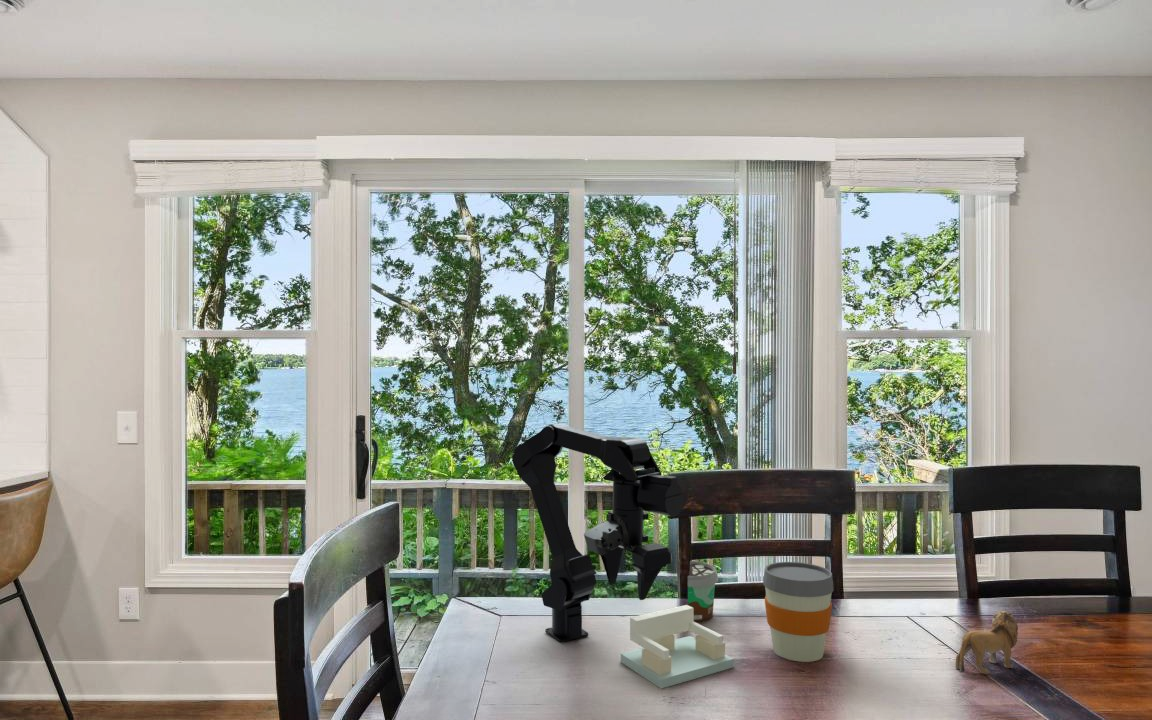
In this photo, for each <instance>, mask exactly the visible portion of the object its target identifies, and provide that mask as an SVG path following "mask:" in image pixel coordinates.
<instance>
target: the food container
mask: <svg viewBox="0 0 1152 720" xmlns="http://www.w3.org/2000/svg"><path fill="white" fill-rule="evenodd" d="M717 572H718V571H717V570H716V567H715V566H714V565H711V564H709V563H707V562H702V561H696V560H690V561H689V573H688V576H687V605H688V606H690V607H692V608H694V622H696V623H698V624H701V623H706V622H709V621H711V620H712V619H713V615H714V602H715V590H716V589H715V588H716V587H715V586H716V583H717V582H718V581H719V577H718V573H717ZM710 619H711V620H710Z"/></svg>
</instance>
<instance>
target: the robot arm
mask: <svg viewBox="0 0 1152 720" xmlns="http://www.w3.org/2000/svg"><path fill="white" fill-rule="evenodd" d="M647 443H648V442H647V441H646V440H645V439H644V438H641V437H628V436H623V437H622V436H619V437H617V436H615V437H613V436H606V435H602V434H599V433H595V432H591V431H588V430H584V429H580V428H577V427H573V426H569V425H568V424H565V423H562V422H561V423H560V422H559V423H554V424H553V423H552V424H548V425H546V426H544V427H543V428H542V429H541V430H540V431H539V432H537V433H536V434H534V435H532V436H531V437H529V438H528V439H526V440H525V441H524V442H522V443H520V444H518V445H516V446H515V448H514V450H513V453H512V455H511V460H512V464H513V466H514V469H515V471H516V473H517V475H518V477H519V478H520V480H522V481H523V483H525V484H526V486H528V487H529V489H530V490H531V494H532V498H533V500H534V503H535V507H536V509H537V513H538V516H539V519H540V522H541V526H542V528H543V532H544V534H545V538H546V541H547V544H548V547H549V551H550V555H551V563H550V570H549V575H550V582H551V584H550V585H549V586H548V587H547V588H546V589H545V590H544V591H543V592H542V593H541V600H542V603H543V606H544V607H547V608H551V627H547V628H545V632H546V633H547V635H549V636H551V637H552V638H553V639H555V640H557V641H558V642H560V643H563V642H567V641H572V640H575V639H580V638H585V637H588V636H589V632H588V631H586V630H585V629H583V615H582V613H583V612H582V608H583V607H582V603H584V602H586V601H590V598H591V596H592V592H594V590H595V586H596V584H597V581H596V580H597V579H596V575H597V571H596V569H595V568H594V565H593V561H592V557H591V556H590V554H588V553H587V554H584V555H583V554H582V553H581V552H580V551H579V550H578V548H577V547H576V543H575V541H574V539H573V538H574V537H573V534H572V532H571V529H570V526H569V524H568V519H567V517H566V515H565V512H564V511H565V510H564V508H563V505H562V501H561V500H560V499H561V498H560V496H559V493H558V490H557V487H556V484H555V480H554V479H555V474H556V469H557V464H556V458H557V456H559V454H560V453H561V452H563V451H562V450H563V448H565V449H567V450H568V449H569V450H571V451H575V452H578V453H581V454H585V455H587V456H592V457H595V458H597V459H598V460H600V461H601V462H602V464H603V465H604V466H606V467H607V468H610V470H609V471H608V472H607V473H606V474H605V475H604V476H603V480H604V481H608V482H612V510H611V511H607V514H606V520H605V521H604V522H601V523H598V524H597V525H595V526H593V527H591V528H590V529H588V530H586V531H585V532H584V533H583V537H584V540H585V543H586V547H587V550H588V551H590V552H594V553H595V554H596V555H598V556H600V558H601V562H602V563H603V568H604V571H605V574H606V577H607V582H608V584H609V585H610V586H612V585H613V586H614V585H616V581H617V579H618V575H619V570H620V566H621V560H622V556H623V553H624V551H627V552H630V553H631V559H632V561H633V563H631V564H630V565H631V567H632V568H633V570H635V571H636V574H637V575H636V576H637V577H636V578H637V594H638V600H640V601H643V600H646V597H647V596H648V594H649V592H650V590H651V588H652V586H653V584H654V582H655V581H656V578H657V577H658V575H659V573H660V572H661V571H662V569H663V568H665V567H667V565H670V564H672V555H673V554H672V553H673V551H671V550H670V548H669V547H667V546H665V545H663V544H660V543H658V542H653V543H647V544H643V543H646V542H649V535H647V534H644V520H649V514H650V513H653V514H658V515H663V516H667V517H677V516H678V515H679V514H680V513H681V511H682V508H683V505H684V503H685V502H684V501H685V494H683V490H682V486H681V485H679V484H678V478H677V476H673V475H668V476H665V475H663V473H662V471H661V469H660V468H659V466H658V464H657V462H656V460H655V458H654V456H653V455H652V453H651V451H650V447H649V445H648V444H647ZM648 512H649V513H648Z"/></svg>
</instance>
